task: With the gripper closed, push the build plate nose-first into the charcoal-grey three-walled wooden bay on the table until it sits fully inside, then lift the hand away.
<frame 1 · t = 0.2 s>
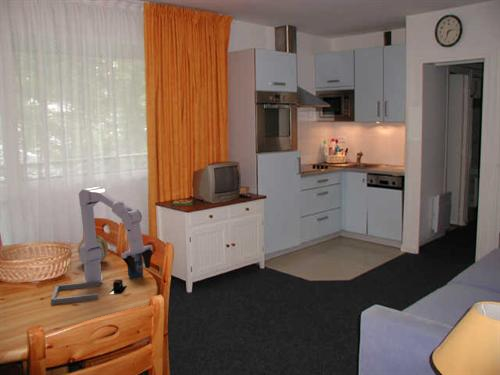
hand: (140, 270, 205), 10 cm above the table, tool pointing down, fingers open, 7 cm apart
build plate: (118, 291, 212), on the table
cantaloupe: (94, 263, 250), on the table
truck bay: (76, 294, 208), on the table
soda can: (135, 277, 229), on the table
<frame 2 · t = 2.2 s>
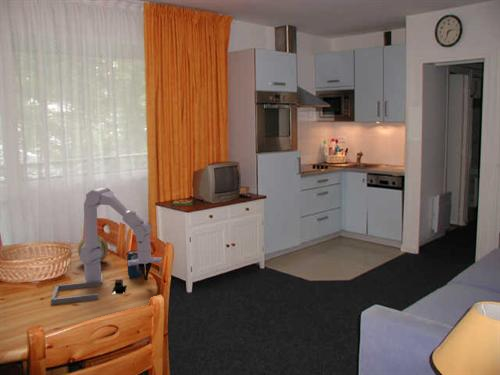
hand: (145, 279, 215), 3 cm above the table, tool pointing down, fingers closed
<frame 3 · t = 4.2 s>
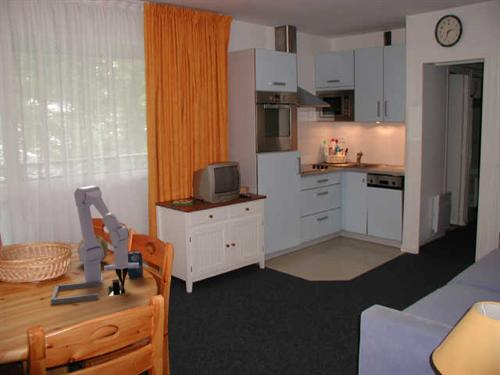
hand: (122, 285, 212), 2 cm above the table, tool pointing down, fingers closed
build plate: (116, 291, 212), on the table, touching gripper
everything else where it was.
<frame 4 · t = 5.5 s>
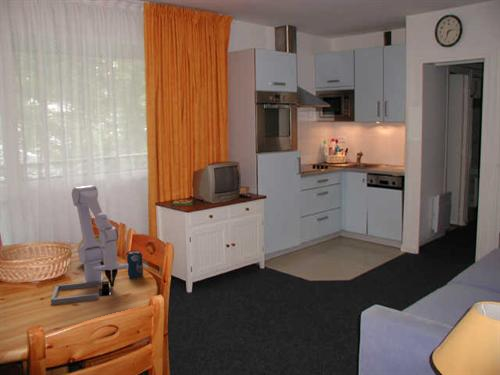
hand: (112, 286, 211), 2 cm above the table, tool pointing down, fingers closed
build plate: (106, 293, 211), on the table, touching gripper
everything else where it was.
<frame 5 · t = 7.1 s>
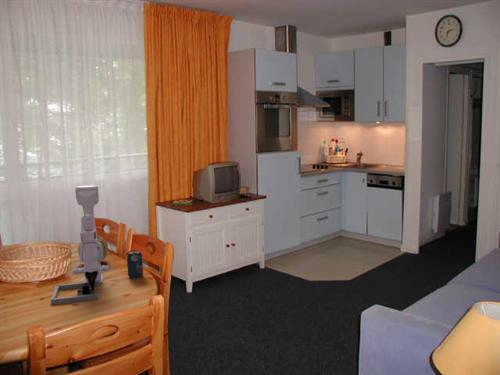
hand: (92, 288, 209), 2 cm above the table, tool pointing down, fingers closed
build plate: (86, 295, 208), on the table, touching gripper
everything else where it was.
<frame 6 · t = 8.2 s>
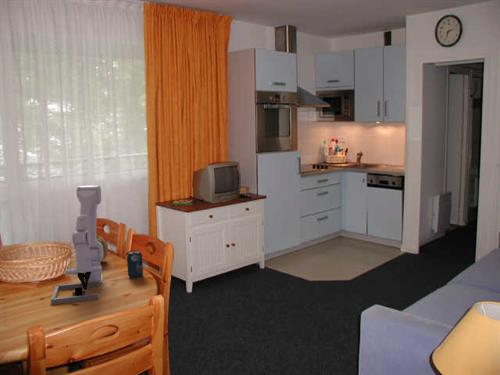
hand: (85, 289, 209), 2 cm above the table, tool pointing down, fingers closed
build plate: (79, 296, 207), on the table
everything else where it was.
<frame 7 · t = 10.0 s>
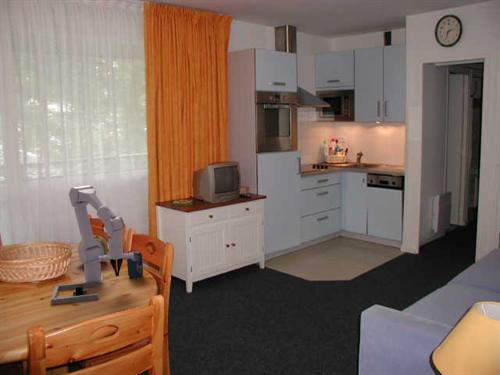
hand: (117, 275, 211), 6 cm above the table, tool pointing down, fingers closed
nothing on the table moved.
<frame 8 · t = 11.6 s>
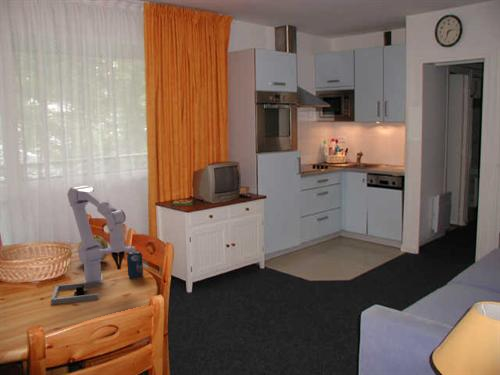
hand: (119, 268, 211), 9 cm above the table, tool pointing down, fingers closed
nothing on the table moved.
at the end: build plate 1.7 cm off-centre on the truck bay, point -0.8 cm above the truck bay's base; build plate tilted 0° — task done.
